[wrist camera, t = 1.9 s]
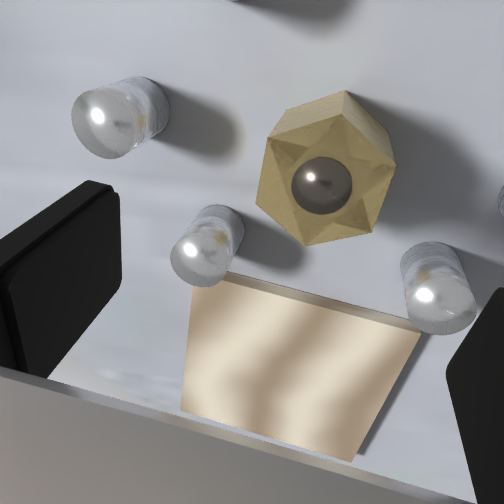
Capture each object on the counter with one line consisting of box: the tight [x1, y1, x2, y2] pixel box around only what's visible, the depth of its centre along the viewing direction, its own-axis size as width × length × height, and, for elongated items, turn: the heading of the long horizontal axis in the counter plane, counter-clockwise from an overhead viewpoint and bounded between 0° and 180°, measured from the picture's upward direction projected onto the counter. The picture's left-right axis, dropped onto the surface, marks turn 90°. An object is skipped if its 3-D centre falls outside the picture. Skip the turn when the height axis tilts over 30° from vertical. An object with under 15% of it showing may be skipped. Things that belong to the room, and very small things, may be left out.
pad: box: [181, 272, 421, 462], centre depth 28 cm, size 14×14×1 cm
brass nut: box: [255, 90, 396, 246], centre depth 18 cm, size 5×6×5 cm
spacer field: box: [72, 0, 504, 335], centre depth 18 cm, size 23×16×4 cm
